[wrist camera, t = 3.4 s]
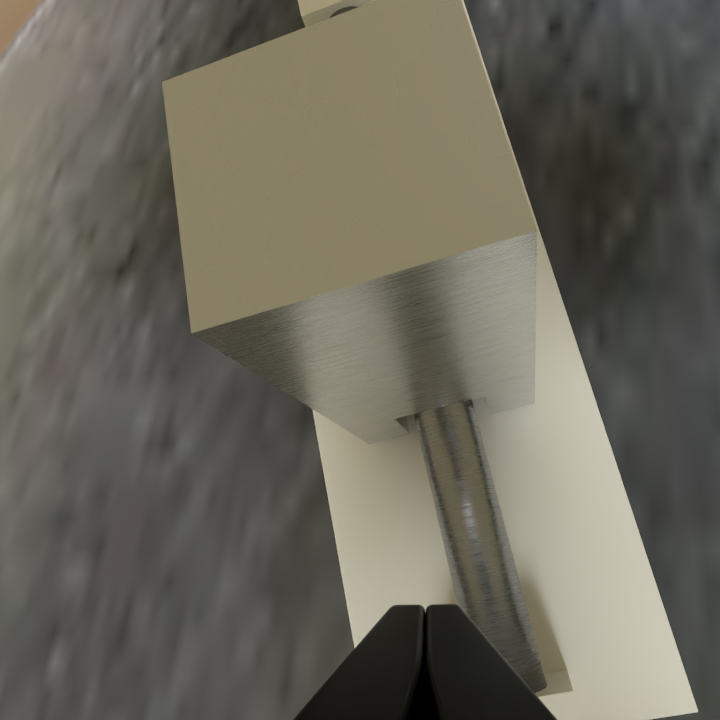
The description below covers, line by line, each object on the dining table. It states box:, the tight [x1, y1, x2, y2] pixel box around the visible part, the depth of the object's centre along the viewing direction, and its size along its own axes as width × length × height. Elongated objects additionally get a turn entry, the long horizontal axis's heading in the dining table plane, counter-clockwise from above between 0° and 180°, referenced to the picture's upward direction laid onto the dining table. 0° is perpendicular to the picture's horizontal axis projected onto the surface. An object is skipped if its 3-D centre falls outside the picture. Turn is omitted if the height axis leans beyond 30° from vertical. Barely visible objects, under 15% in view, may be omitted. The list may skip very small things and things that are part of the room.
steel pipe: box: [330, 6, 547, 693], centre depth 20 cm, size 23×2×2 cm, turn 12°
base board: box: [298, 0, 698, 720], centre depth 21 cm, size 26×9×3 cm, turn 12°
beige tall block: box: [162, 0, 537, 444], centre depth 16 cm, size 5×5×12 cm
